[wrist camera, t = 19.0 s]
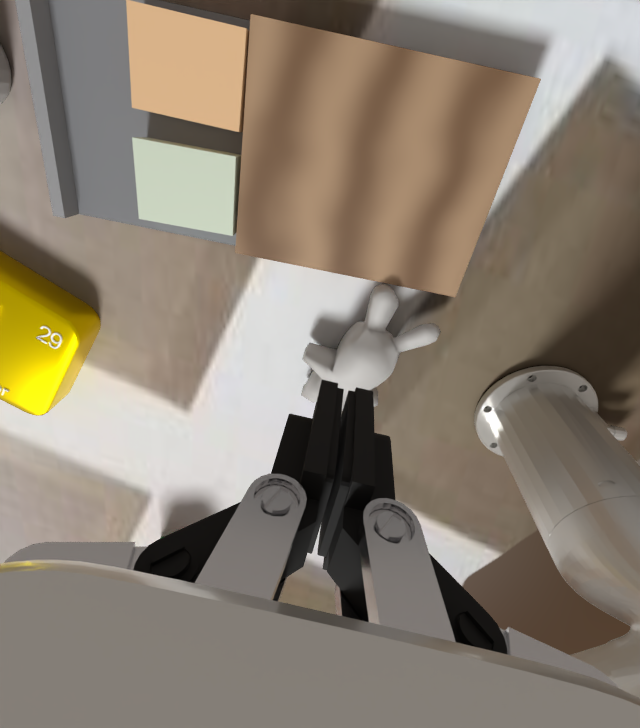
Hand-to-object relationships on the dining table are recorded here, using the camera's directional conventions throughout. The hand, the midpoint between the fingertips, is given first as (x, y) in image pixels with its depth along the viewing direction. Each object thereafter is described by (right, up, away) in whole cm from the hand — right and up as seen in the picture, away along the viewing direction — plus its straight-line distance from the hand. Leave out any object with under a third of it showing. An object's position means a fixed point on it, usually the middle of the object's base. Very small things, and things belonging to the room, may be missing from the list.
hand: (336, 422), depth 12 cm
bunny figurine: (+4, +4, +28) cm, 29 cm away
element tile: (-34, +6, +30) cm, 46 cm away
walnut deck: (+3, +18, +19) cm, 27 cm away
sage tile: (-11, +17, +20) cm, 29 cm away
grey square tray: (-14, +21, +19) cm, 32 cm away
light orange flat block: (-10, +24, +16) cm, 31 cm away
